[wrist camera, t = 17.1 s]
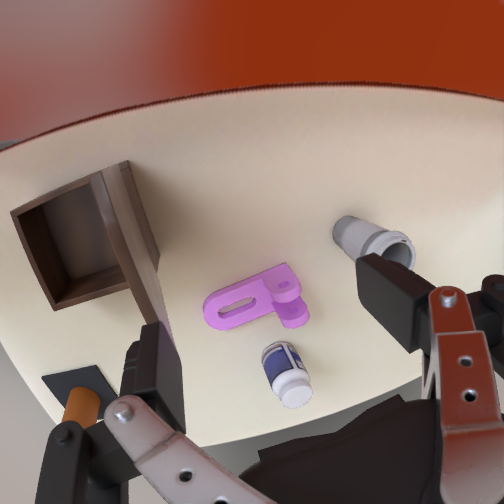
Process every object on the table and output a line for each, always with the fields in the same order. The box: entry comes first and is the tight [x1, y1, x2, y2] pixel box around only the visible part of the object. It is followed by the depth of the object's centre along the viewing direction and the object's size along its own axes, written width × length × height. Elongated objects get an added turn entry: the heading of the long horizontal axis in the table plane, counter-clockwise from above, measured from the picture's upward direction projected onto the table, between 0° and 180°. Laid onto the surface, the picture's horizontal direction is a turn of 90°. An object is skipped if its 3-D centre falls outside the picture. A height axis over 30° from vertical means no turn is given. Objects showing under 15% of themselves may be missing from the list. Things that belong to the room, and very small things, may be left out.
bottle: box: [61, 387, 100, 428], centre depth 39 cm, size 6×6×11 cm
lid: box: [88, 164, 176, 348], centre depth 23 cm, size 14×13×1 cm
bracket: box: [203, 263, 310, 330], centre depth 40 cm, size 13×6×7 cm, turn 110°
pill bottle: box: [261, 342, 313, 409], centre depth 44 cm, size 6×6×10 cm
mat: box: [41, 365, 118, 420], centre depth 44 cm, size 12×12×1 cm
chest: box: [10, 160, 160, 311], centre depth 32 cm, size 14×13×7 cm
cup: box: [333, 216, 416, 270], centre depth 38 cm, size 7×7×12 cm
